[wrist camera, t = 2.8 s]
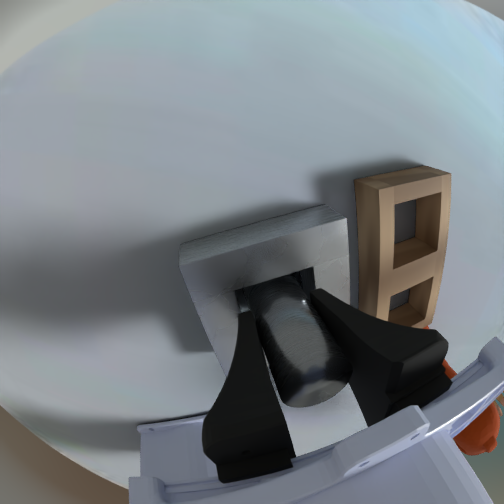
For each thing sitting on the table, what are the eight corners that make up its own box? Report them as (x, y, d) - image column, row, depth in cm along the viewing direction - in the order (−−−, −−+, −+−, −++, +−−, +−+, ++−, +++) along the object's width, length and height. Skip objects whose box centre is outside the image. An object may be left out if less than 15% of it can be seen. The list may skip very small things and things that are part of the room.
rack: (415, 307, 20) (431, 323, 18) (357, 334, 20) (372, 354, 18) (425, 165, 15) (451, 173, 13) (353, 179, 14) (378, 189, 12)
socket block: (221, 350, 18) (226, 377, 15) (180, 244, 14) (178, 266, 12) (333, 314, 18) (349, 336, 16) (325, 204, 15) (346, 217, 13)
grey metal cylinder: (249, 312, 17) (285, 415, 10) (237, 271, 15) (274, 376, 9) (296, 298, 17) (350, 390, 10) (289, 256, 16) (354, 347, 9)
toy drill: (423, 398, 28) (474, 474, 14) (368, 337, 22) (461, 471, 8) (449, 374, 27) (507, 445, 13) (409, 299, 21) (523, 412, 7)
